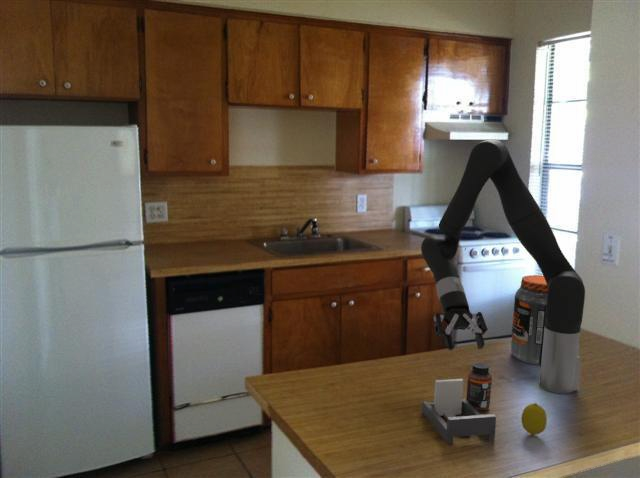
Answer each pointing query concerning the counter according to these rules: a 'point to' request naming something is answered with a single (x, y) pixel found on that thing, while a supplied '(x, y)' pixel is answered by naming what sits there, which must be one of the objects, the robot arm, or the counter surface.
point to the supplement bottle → (479, 387)
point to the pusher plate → (448, 397)
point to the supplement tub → (529, 319)
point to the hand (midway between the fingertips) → (466, 348)
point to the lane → (461, 422)
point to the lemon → (534, 419)
